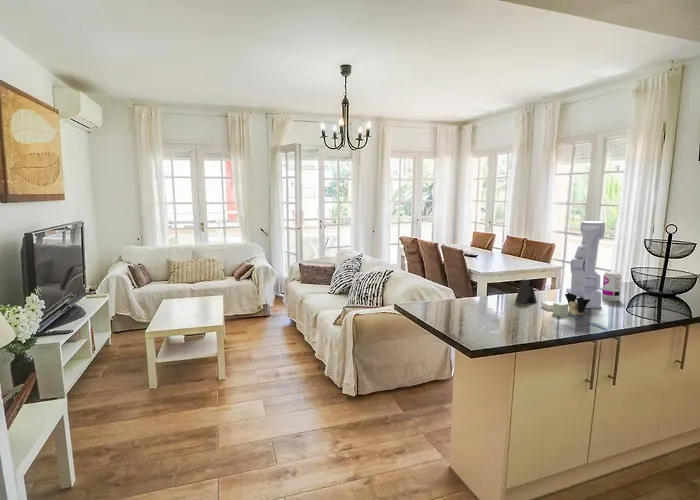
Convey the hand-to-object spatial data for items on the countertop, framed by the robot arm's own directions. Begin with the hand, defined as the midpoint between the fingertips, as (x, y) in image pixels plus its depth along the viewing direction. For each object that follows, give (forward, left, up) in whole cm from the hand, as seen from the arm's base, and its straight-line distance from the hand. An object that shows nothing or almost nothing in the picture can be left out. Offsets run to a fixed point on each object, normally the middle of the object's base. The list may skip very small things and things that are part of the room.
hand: (576, 310), depth 190 cm
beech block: (0, 0, -2) cm, 2 cm away
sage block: (+9, +2, -2) cm, 9 cm away
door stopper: (+14, -22, -2) cm, 26 cm away
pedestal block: (+7, -9, -2) cm, 12 cm away
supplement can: (-35, -25, -2) cm, 43 cm away
